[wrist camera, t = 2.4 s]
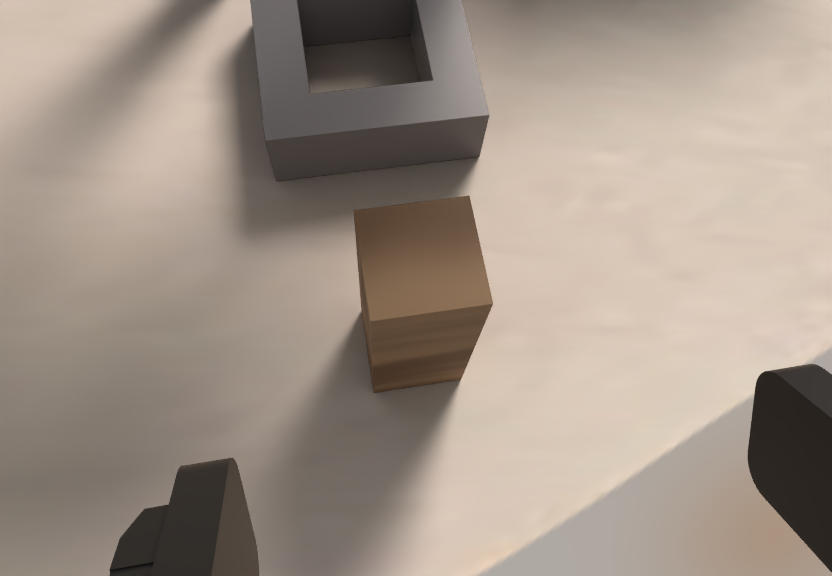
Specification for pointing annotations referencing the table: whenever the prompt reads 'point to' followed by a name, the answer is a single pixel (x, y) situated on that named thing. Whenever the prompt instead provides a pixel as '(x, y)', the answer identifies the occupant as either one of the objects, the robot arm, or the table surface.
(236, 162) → the table surface
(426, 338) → the walnut peg
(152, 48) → the table surface
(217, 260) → the table surface
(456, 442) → the table surface
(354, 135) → the socket
